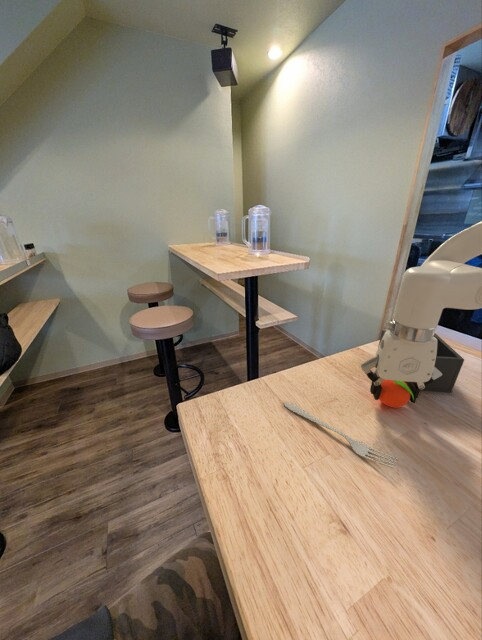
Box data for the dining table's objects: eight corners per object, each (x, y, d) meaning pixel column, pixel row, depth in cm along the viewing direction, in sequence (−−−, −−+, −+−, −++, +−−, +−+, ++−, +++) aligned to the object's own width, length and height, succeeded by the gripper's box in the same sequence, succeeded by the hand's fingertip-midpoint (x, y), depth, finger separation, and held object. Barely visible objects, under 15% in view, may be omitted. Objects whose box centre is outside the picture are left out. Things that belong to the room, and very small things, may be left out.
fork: (288, 400, 62) (288, 394, 61) (397, 464, 46) (399, 457, 45) (280, 406, 60) (280, 401, 59) (391, 476, 44) (393, 470, 43)
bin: (424, 361, 74) (434, 332, 70) (451, 392, 62) (464, 359, 58) (375, 358, 77) (381, 330, 72) (391, 388, 64) (400, 355, 60)
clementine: (417, 409, 58) (426, 385, 55) (399, 422, 55) (407, 396, 52) (384, 389, 64) (390, 366, 61) (367, 399, 61) (372, 376, 58)
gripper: (371, 335, 49) (356, 405, 57) (472, 340, 46) (442, 413, 54) (361, 319, 56) (349, 383, 63) (449, 323, 53) (425, 390, 60)
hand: (392, 396), depth 58 cm, fingers closed on clementine, 7 cm apart
